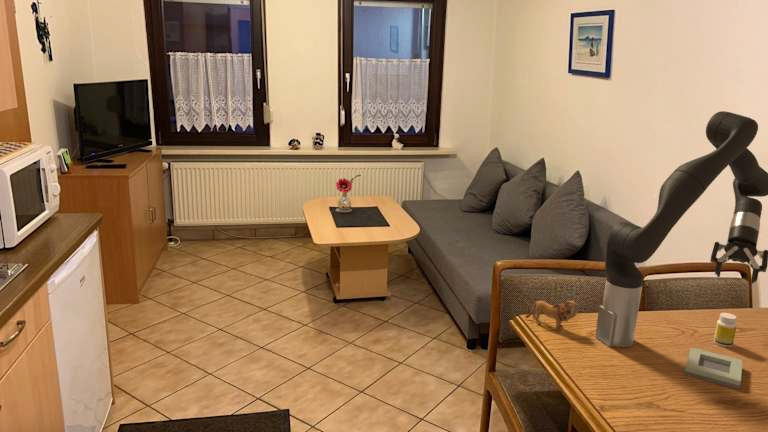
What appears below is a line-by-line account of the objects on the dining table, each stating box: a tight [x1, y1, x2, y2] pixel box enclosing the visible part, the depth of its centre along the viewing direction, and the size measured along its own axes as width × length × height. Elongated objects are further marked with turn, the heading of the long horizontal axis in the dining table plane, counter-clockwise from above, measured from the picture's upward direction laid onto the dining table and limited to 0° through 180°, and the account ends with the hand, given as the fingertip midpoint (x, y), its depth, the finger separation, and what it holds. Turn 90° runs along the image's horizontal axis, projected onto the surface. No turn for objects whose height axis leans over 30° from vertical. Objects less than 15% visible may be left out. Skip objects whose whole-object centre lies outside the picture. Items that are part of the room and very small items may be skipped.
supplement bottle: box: [713, 312, 738, 348], centre depth 169 cm, size 5×5×8 cm
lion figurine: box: [524, 300, 578, 333], centre depth 177 cm, size 15×5×9 cm, turn 59°
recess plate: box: [684, 347, 743, 390], centre depth 155 cm, size 12×12×2 cm
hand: (735, 279), depth 176 cm, fingers open, 8 cm apart
